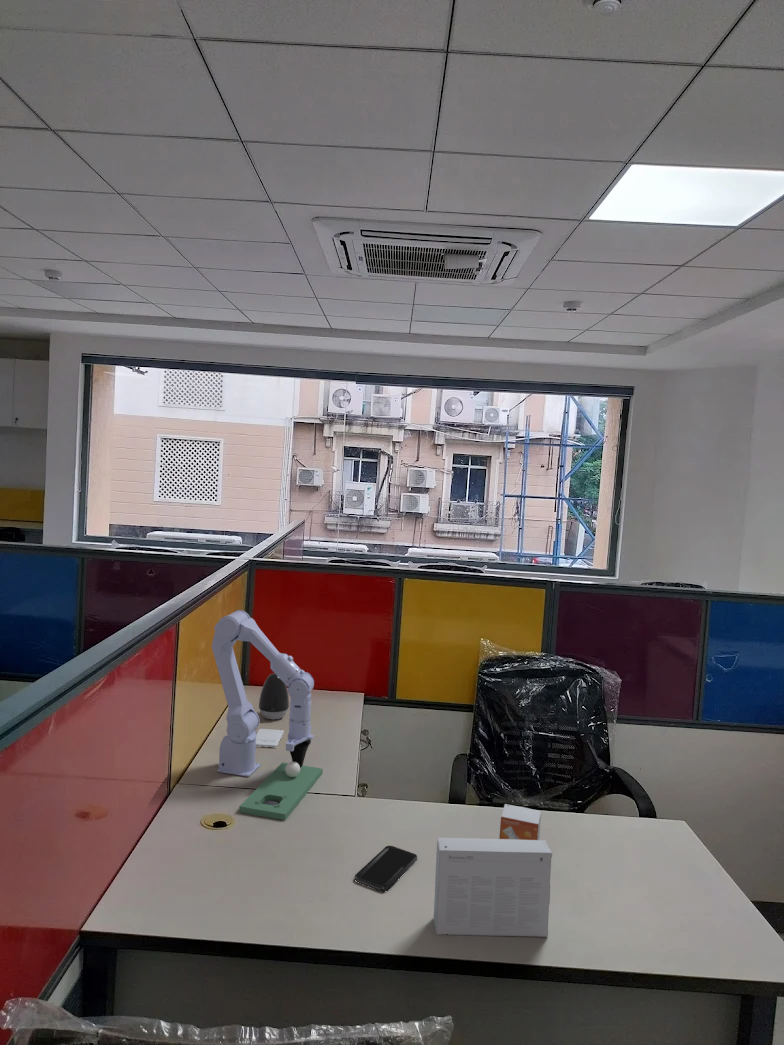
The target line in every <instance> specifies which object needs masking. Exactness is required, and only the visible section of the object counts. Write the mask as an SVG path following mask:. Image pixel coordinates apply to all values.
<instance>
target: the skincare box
mask: <svg viewBox="0 0 784 1045" xmlns="http://www.w3.org/2000/svg"><path fill="white" fill-rule="evenodd" d="M552 859H553V851H552V850H551V849H550V846H549V845H548V842H547V840H545V839H543V840H542V839H539V840H517V839H499V838H476V837H475V838H473V837H472V838H471V837H470V838H467V837H437V838H436V858H435V879H434V880H435V881H434V899H433V900H434V904H433V906H434V907H433V924H434V930H435V934H436V935H442V934H444V935H446V934H448V935H449V936H450V935H451V936H454V935H455V936H490V937H493V936H497V937H498V936H499V937H500V936H501V937H502V936H503V937H543V938H545V937H546V938H547V937H548V936H549V913H550V900H551V871H552V870H551V869H552ZM446 936H447V935H446Z"/></svg>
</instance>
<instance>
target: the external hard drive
mask: <svg viewBox="0 0 784 1045" xmlns="http://www.w3.org/2000/svg"><path fill="white" fill-rule="evenodd" d="M255 733H256V746H259V745H260V746H268V747H277V745H278V743H279V741H280V739H281V737H282V738H283V736H284V734H285V730H282V729H268V728H259V729H258V730H257V731H256V732H255ZM283 733H284V734H283ZM282 735H283V736H282ZM281 740H282V739H281ZM280 742H281V741H280ZM279 744H280V743H279ZM278 746H279V745H278ZM277 748H278V747H277Z"/></svg>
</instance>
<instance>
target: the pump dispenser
mask: <svg viewBox="0 0 784 1045" xmlns="http://www.w3.org/2000/svg"><path fill="white" fill-rule="evenodd" d="M258 709H259V711H260V714H261V715H262V716H263V717H264V718H265V719H268V720H270V719H271V721H275V720H276V719H277V720H280V719H282V718H283V717H285V715H286V714H287V712H288V709H290V700H289V693H288V686H286V685H285V683H284V682H283V681H282V680H281V679H280V678H279V677H278V676H277V675H276V674H275V673H274V672H273V673H270V674H269V675H268V676H267V678H266V679H265V681H264V684H263V686H262V688H261V692H260V696H259V702H258Z"/></svg>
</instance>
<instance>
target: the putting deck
mask: <svg viewBox="0 0 784 1045" xmlns="http://www.w3.org/2000/svg"><path fill="white" fill-rule="evenodd" d="M288 763H289V762H281V763H280V764H279V765H278V766H277V767H276V768H275V769H274V770H273V772H271V773H270V774H269V775H268V777H266V779H264V780H263V781H262V782H261V784H259V786H257V788H256V789H255V790H254V791H253V792H252V793H251V794H249V796H248V797H247V798H246V799H245V800H244V801H243V802H242V803H241V804H240V805H239V810H238V813H240V814H241V813H242V814H246V815H253V816H259V817H264V818H269V819H275V820H282V821H287V819H288V818H289V816H290V815H291V814H292V813H293V811H294V810H295V809H296V808H297V806H298V805H299V804H300V803H301V801H302V800H303V799H304V798H305V796H306V795H307V794H308V793H309V791H310V790H311V789H312V788H313V786H314V785H315V784H316V783H317V781H318V780H319V779H320V777H322V775H323V769H324V768H321V767H317V766H316V767H315V766H310V765H309V766H308V765H304V764H303V765H302V767H301V768H300V772H299V774H298V775H297V776H296V777H289V776H288V775H287V774H286V772H285V768H286V765H287V764H288Z"/></svg>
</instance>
